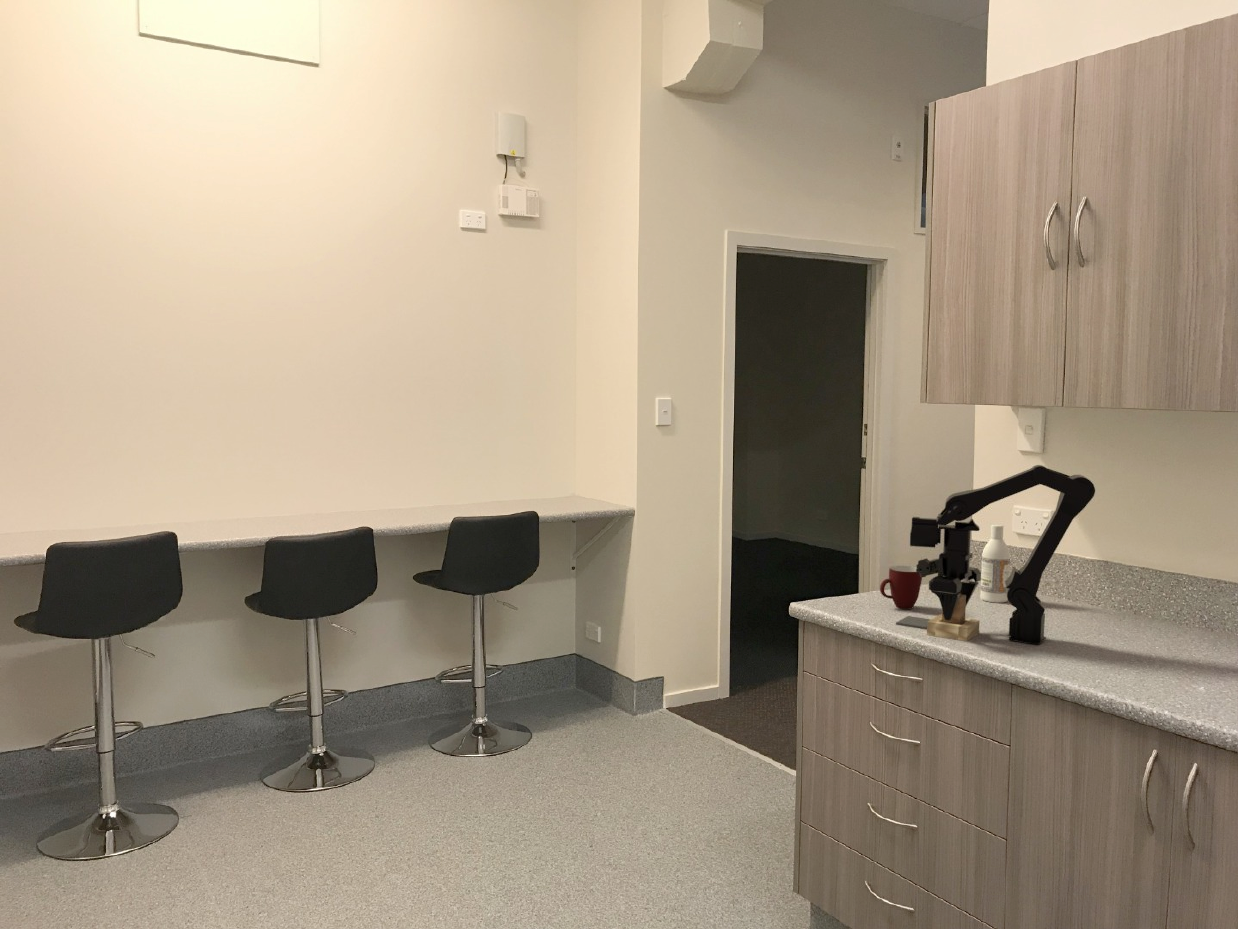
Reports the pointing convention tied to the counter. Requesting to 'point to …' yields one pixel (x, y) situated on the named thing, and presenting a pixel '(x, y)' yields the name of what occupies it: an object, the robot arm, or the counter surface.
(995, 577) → the bath foam
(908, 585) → the mug
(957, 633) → the holder
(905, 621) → the mat
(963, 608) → the peg
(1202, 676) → the counter surface
